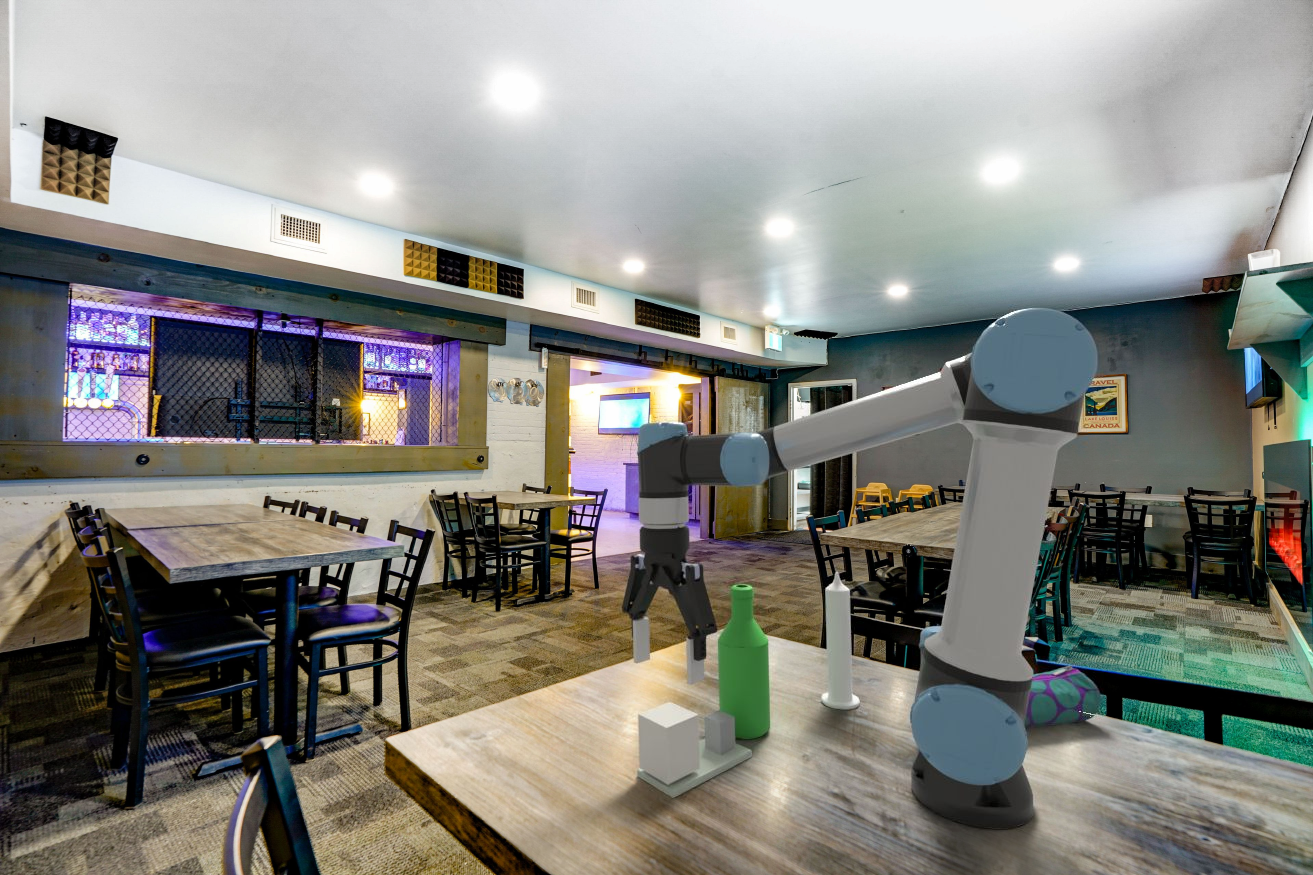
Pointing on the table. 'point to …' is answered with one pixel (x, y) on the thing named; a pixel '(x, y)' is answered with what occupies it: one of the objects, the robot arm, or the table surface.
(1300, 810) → the table surface
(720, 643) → the bottle
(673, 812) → the table surface
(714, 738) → the rack
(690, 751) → the white square column
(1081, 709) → the pencil case
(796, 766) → the table surface
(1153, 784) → the table surface
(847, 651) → the candle
